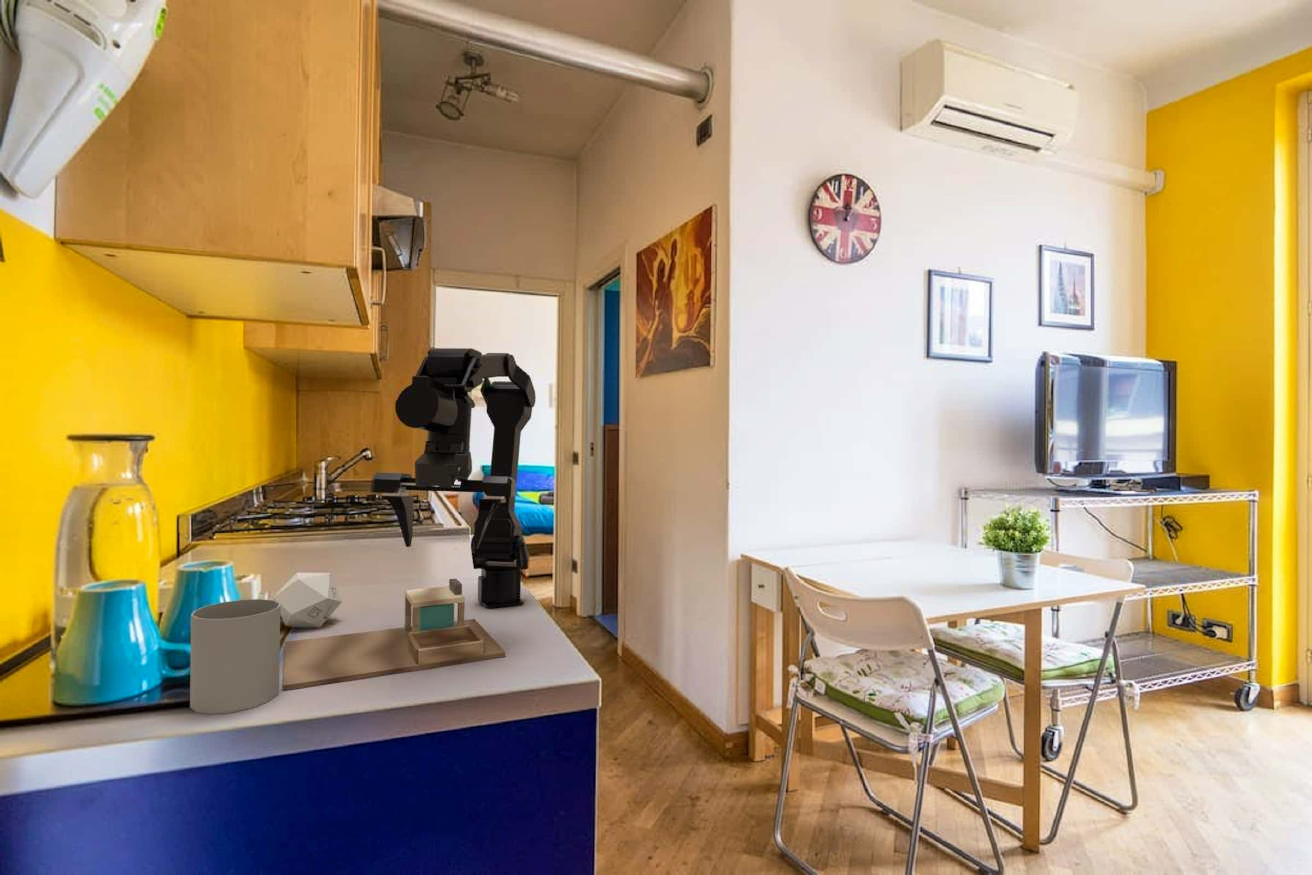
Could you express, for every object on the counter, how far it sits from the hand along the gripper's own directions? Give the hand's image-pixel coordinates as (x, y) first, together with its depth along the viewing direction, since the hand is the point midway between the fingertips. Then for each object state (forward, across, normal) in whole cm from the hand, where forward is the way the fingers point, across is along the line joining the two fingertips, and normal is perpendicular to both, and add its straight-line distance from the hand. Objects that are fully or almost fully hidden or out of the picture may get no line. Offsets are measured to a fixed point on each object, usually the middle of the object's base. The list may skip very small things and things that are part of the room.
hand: (442, 547), depth 91 cm
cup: (+16, -18, -15) cm, 28 cm away
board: (+14, -6, 0) cm, 15 cm away
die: (+14, -22, +13) cm, 29 cm away
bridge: (+13, -2, +6) cm, 14 cm away
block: (+13, -2, +6) cm, 14 cm away
